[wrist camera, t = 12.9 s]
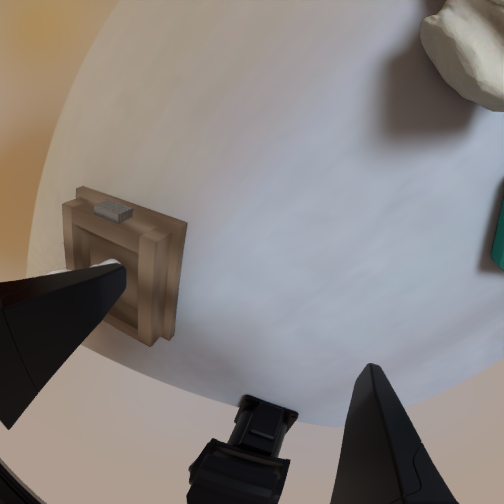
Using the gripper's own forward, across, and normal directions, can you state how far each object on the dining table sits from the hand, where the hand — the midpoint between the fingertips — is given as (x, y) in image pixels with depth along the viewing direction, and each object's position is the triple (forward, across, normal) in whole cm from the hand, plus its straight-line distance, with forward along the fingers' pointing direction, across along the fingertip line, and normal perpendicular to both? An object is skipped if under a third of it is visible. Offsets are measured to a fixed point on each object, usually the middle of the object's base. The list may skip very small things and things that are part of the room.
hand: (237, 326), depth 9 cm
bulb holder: (+13, +15, +10) cm, 22 cm away
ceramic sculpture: (+13, -9, -18) cm, 24 cm away
